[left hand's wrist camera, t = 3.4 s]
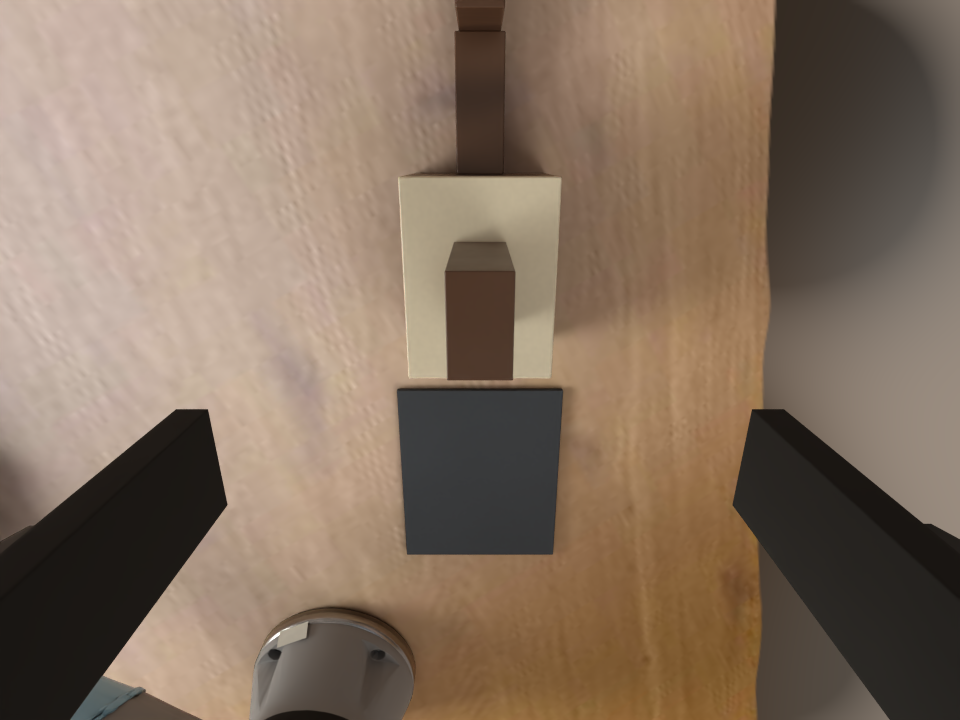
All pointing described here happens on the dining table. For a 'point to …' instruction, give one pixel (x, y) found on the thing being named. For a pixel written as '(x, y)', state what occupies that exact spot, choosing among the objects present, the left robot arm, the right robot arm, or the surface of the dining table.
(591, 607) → the dining table surface
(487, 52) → the box
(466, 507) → the felt mat
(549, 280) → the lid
